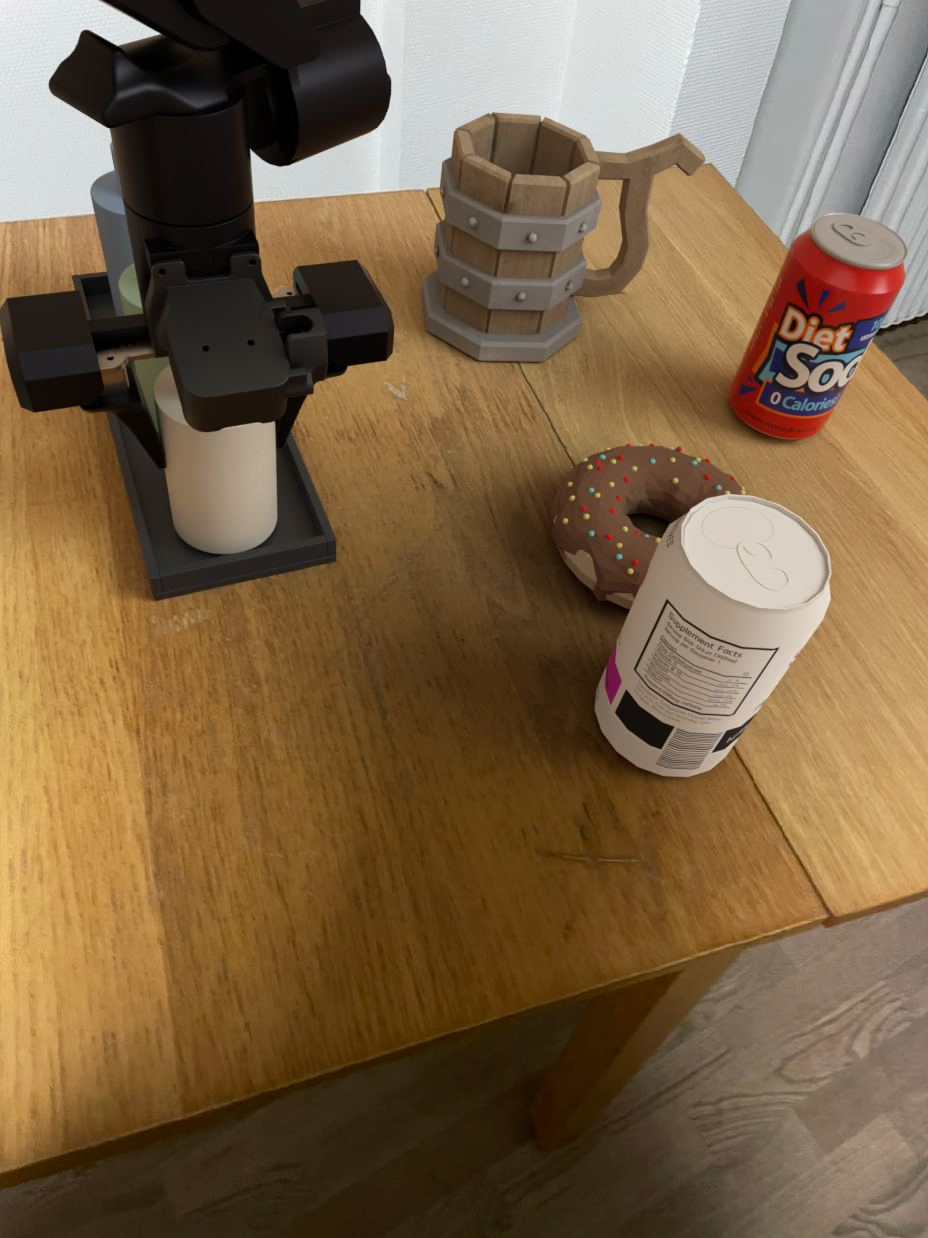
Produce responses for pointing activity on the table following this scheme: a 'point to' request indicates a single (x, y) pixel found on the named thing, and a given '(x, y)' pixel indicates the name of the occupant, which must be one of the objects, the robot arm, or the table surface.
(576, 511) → the donut
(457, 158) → the tankard
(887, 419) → the table surface
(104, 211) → the blue bottle
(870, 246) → the soda can
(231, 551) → the cream bottle
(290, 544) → the tray
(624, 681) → the supplement can
